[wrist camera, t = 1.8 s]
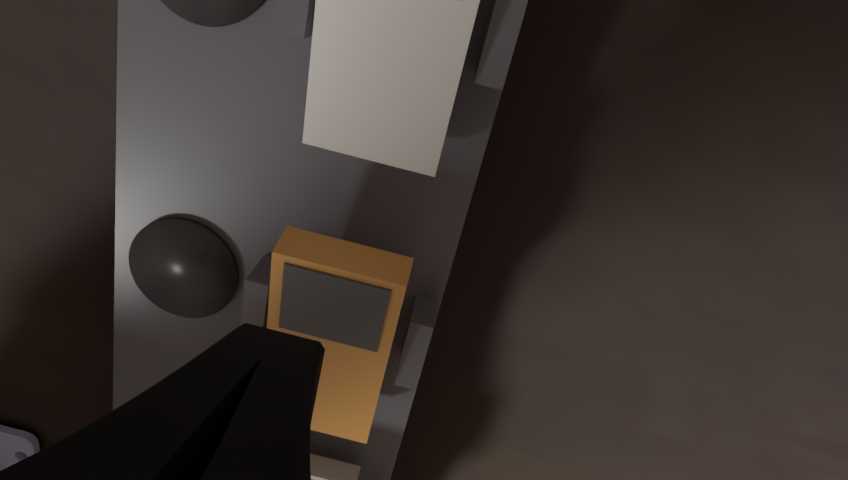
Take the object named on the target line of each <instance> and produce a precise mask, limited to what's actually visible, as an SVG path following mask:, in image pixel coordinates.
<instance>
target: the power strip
mask: <svg viewBox="0 0 848 480" xmlns="http://www.w3.org/2000/svg"><path fill="white" fill-rule="evenodd" d="M315 1H316V0H118V36H117V114H116V192H115V270H114V348H113V410H114V409H116V408H117V407H119V406H121V405H123V404H124V403H126V402H128V401H129V400H131V399H133V398H134V397H136V396H137V395H139V394H140V393H142V392H144V391H145V390H147V389H148V388H150V387H151V386H153V385H154V384H156V383H157V382H159V381H160V380H162V379H163V378H165V377H167V376H168V375H170V374H171V373H173V372H174V371H176V370H177V369H179V368H180V367H182V366H183V365H185V364H186V363H187V362H189V361H190V360H192V359H193V358H195V357H196V356H198V355H199V354H200V353H202V352H203V351H205V350H206V349H208V348H209V347H210V346H212V345H213V344H215V343H216V342H217V341H219V340H220V339H222V338H223V337H224V336H226V335H227V334H229V333H230V332H231V331H233V330H234V329H236V328H237V327H239V326H240V325H242V324H244V323H248V324H252V325H256V326H260V327H264V328H267V318H268V303H269V288H270V273H271V258H272V251H273V249H274V247H275V246H276V244H277V242H278V240H279V239H280V237H281V235H282V233H283V232H284V230H285V228H286V226H291V227H295V228H299V229H302V230H306V231H310V232H314V233H318V234H322V235H326V236H330V237H334V238H338V239H341V240H345V241H349V242H353V243H357V244H361V245H365V246H369V247H373V248H377V249H380V250H384V251H388V252H392V253H396V254H400V255H404V256H408V257H412V258H414V260H413V264H412V268H411V272H410V276H409V280H408V284H407V288H406V292H405V296H404V300H403V304H402V307H401V311H400V315H399V319H398V323H397V327H396V331H395V335H394V339H393V343H392V347H391V351H390V355H389V358H388V362H387V366H386V370H385V374H384V378H383V382H382V386H381V390H380V394H379V398H378V402H377V405H376V409H375V413H374V417H373V421H372V425H371V429H370V433H369V437H368V440H367V444H365V443H361V442H357V441H353V440H349V439H345V438H341V437H337V436H333V435H329V434H325V433H322V432H318V431H314V430H310V453H311V454H315V455H319V456H323V457H327V458H330V459H334V460H338V461H342V462H346V463H350V464H354V465H358V466H361V468H360V472H359V476H358V480H390V479H391V476H392V472H393V469H394V465H395V462H396V458H397V455H398V451H399V448H400V444H401V441H402V437H403V434H404V430H405V427H406V424H407V420H408V417H409V413H410V410H411V406H412V403H413V399H414V396H415V392H416V389H417V385H418V382H419V378H420V375H421V372H422V368H423V365H424V361H425V358H426V354H427V351H428V347H429V344H430V340H431V337H432V333H433V330H434V326H435V323H436V319H437V316H438V313H439V309H440V306H441V302H442V299H443V295H444V292H445V288H446V285H447V281H448V278H449V274H450V271H451V267H452V264H453V260H454V257H455V254H456V250H457V247H458V243H459V240H460V236H461V233H462V229H463V226H464V222H465V219H466V215H467V212H468V208H469V205H470V202H471V198H472V195H473V191H474V188H475V184H476V181H477V177H478V174H479V170H480V167H481V163H482V160H483V156H484V153H485V149H486V146H487V143H488V139H489V136H490V132H491V129H492V125H493V122H494V118H495V115H496V111H497V108H498V104H499V101H500V97H501V94H502V90H503V87H504V84H505V80H506V77H507V73H508V70H509V66H510V63H511V59H512V56H513V52H514V49H515V45H516V42H517V38H518V35H519V32H520V28H521V25H522V21H523V18H524V14H525V11H526V7H527V4H528V0H480V3H479V6H478V11H477V14H476V18H475V22H474V26H473V30H472V34H471V38H470V42H469V46H468V50H467V53H466V57H465V61H464V65H463V69H462V73H461V77H460V81H459V85H458V89H457V93H456V97H455V100H454V104H453V108H452V112H451V116H450V120H449V124H448V128H447V132H446V136H445V140H444V144H443V147H442V151H441V155H440V159H439V163H438V167H437V171H436V175H435V177H432V176H428V175H424V174H421V173H417V172H413V171H409V170H405V169H401V168H397V167H393V166H389V165H386V164H382V163H378V162H374V161H370V160H366V159H362V158H358V157H355V156H351V155H347V154H343V153H339V152H335V151H331V150H327V149H323V148H320V147H316V146H312V145H308V144H304V143H302V140H303V129H304V118H305V108H306V97H307V86H308V75H309V65H310V54H311V43H312V33H313V22H314V11H315Z"/></svg>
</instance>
